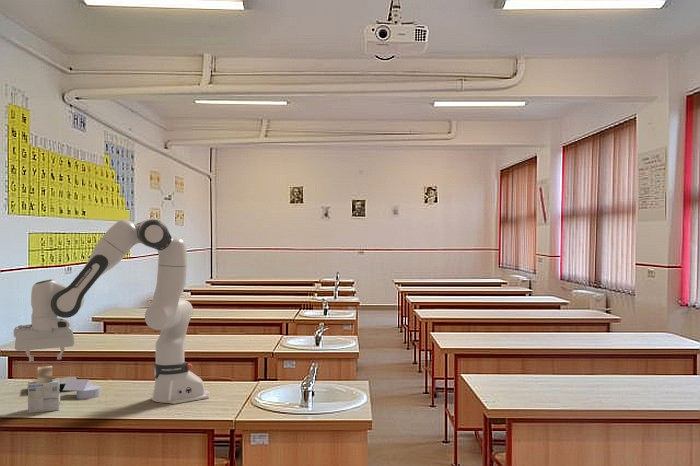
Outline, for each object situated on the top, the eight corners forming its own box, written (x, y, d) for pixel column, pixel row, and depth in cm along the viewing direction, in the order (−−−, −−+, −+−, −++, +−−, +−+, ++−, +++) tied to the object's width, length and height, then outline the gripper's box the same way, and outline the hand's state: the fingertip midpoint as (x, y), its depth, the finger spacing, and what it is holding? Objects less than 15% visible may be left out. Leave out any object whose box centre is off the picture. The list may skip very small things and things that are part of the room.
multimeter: (28, 389, 282) (28, 377, 282) (77, 384, 290) (77, 373, 290) (27, 396, 270) (27, 384, 270) (78, 391, 278) (78, 379, 278)
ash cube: (52, 378, 251) (52, 365, 251) (52, 381, 247) (52, 368, 247) (37, 380, 249) (37, 366, 249) (37, 383, 244) (37, 369, 244)
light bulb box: (60, 406, 253) (60, 377, 253) (59, 410, 247) (59, 381, 247) (29, 409, 249) (28, 380, 249) (27, 413, 243) (27, 384, 243)
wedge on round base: (62, 398, 264) (94, 399, 263) (62, 381, 264) (94, 382, 263) (73, 393, 273) (104, 393, 272) (73, 376, 273) (104, 377, 272)
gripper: (13, 326, 240) (13, 364, 241) (74, 322, 249) (75, 359, 249) (13, 324, 246) (14, 362, 246) (73, 320, 255) (74, 356, 255)
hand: (45, 360), depth 248 cm, fingers open, 8 cm apart
